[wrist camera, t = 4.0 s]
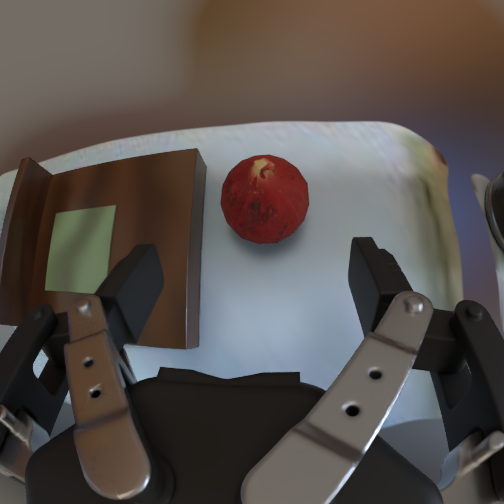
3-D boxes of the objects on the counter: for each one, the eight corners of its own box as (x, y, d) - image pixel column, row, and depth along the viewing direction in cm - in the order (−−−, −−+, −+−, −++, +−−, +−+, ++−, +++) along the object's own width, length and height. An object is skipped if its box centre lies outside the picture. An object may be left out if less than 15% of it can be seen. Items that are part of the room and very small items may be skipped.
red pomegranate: (290, 265, 22) (294, 231, 14) (220, 241, 23) (189, 198, 15) (314, 198, 23) (325, 139, 15) (247, 178, 24) (231, 116, 16)
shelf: (206, 166, 25) (182, 116, 18) (199, 346, 21) (162, 354, 14) (61, 188, 26) (21, 158, 20) (42, 327, 23) (-9, 322, 16)
